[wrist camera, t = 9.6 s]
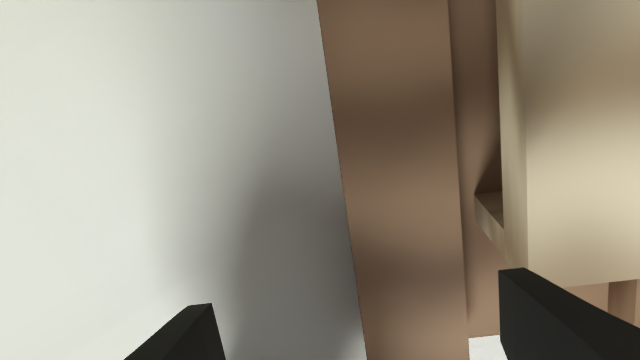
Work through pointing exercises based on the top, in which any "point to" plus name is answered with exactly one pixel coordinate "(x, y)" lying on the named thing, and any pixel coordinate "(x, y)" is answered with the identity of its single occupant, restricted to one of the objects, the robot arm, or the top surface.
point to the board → (424, 172)
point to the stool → (568, 140)
